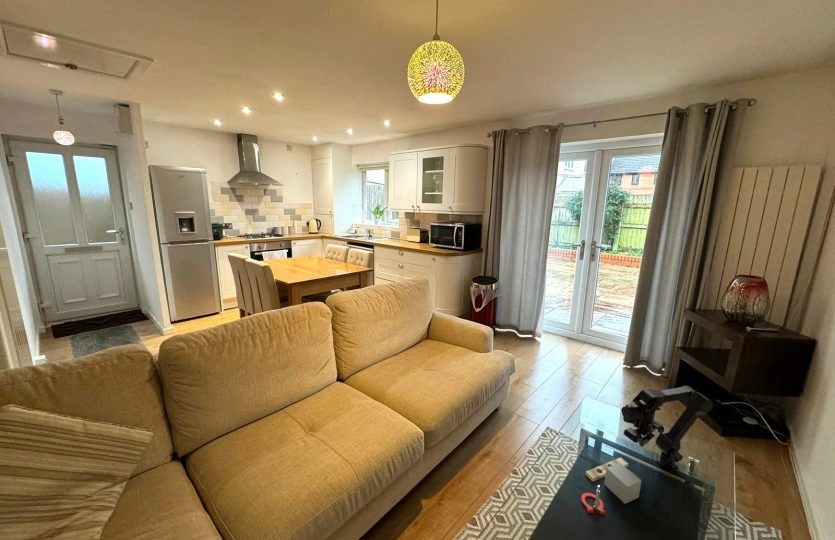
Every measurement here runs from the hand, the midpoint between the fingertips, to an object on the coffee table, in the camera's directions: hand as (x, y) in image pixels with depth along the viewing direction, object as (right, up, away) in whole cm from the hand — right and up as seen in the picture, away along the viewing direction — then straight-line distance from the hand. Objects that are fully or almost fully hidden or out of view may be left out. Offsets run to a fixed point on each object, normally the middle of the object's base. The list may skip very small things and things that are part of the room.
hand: (641, 446), depth 151 cm
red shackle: (-30, -17, -14) cm, 38 cm away
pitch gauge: (-15, -12, +2) cm, 20 cm away
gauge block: (-15, -15, -8) cm, 23 cm away
